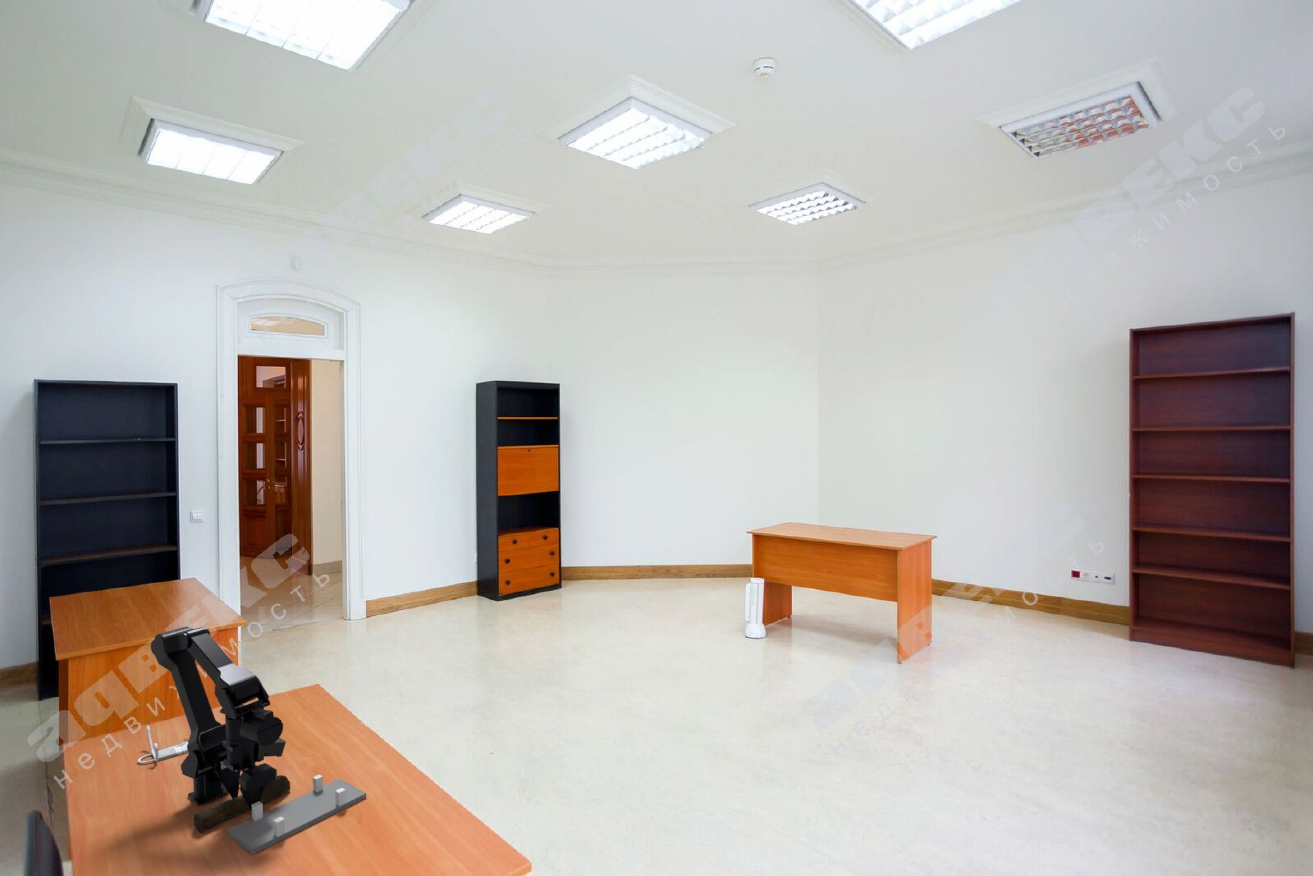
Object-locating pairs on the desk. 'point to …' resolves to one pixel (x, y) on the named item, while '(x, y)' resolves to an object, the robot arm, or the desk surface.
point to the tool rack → (294, 814)
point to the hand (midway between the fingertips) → (244, 804)
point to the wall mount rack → (163, 753)
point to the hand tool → (239, 805)
